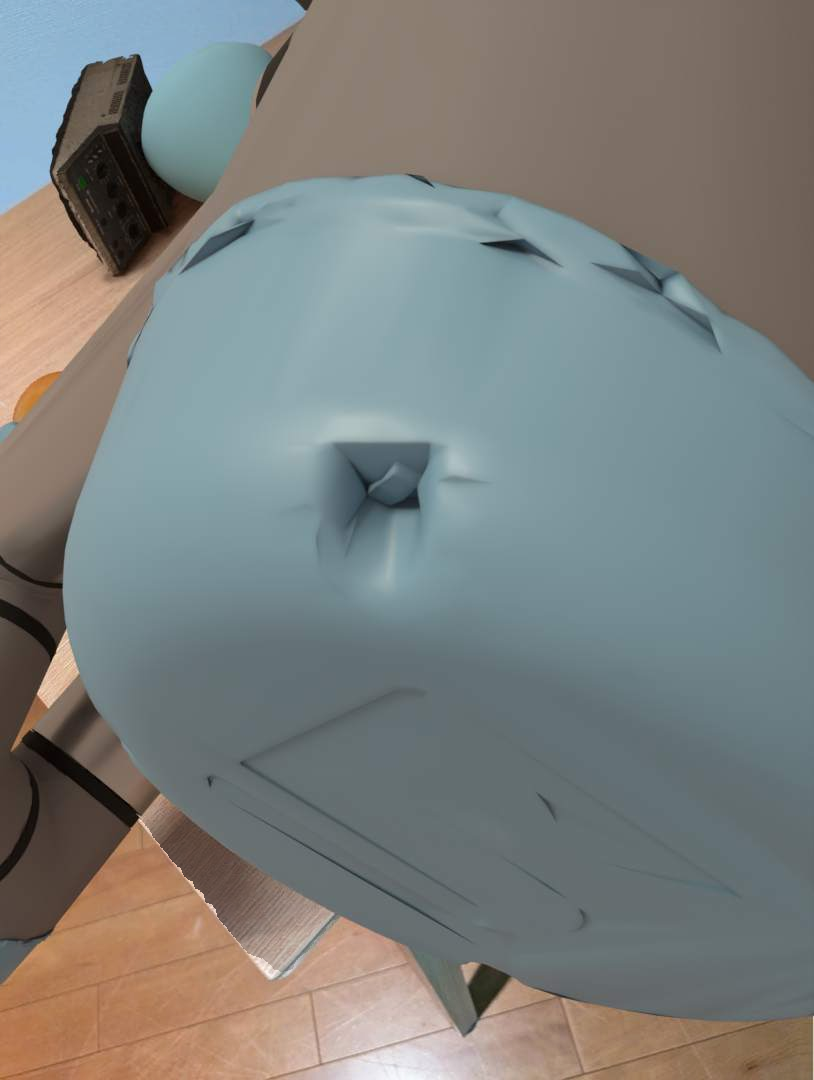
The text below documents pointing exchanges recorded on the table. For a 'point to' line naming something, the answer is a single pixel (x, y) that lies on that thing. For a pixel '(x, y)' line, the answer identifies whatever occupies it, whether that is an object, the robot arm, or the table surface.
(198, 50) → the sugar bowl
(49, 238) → the table surface
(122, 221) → the electronic device
